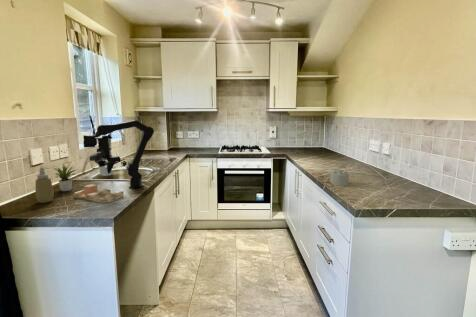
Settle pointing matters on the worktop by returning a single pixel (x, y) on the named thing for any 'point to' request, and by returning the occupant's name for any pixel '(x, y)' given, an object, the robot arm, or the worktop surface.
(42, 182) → the squeeze bottle
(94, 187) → the terracotta block
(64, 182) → the house plant
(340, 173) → the lumpy-topped squat cylinder
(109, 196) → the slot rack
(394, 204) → the worktop surface
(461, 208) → the worktop surface
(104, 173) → the blue-grey block
